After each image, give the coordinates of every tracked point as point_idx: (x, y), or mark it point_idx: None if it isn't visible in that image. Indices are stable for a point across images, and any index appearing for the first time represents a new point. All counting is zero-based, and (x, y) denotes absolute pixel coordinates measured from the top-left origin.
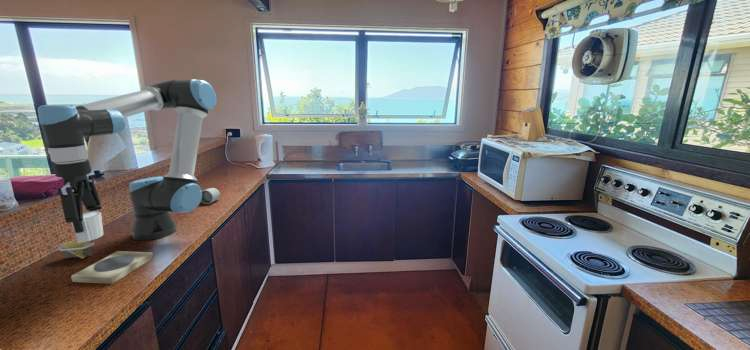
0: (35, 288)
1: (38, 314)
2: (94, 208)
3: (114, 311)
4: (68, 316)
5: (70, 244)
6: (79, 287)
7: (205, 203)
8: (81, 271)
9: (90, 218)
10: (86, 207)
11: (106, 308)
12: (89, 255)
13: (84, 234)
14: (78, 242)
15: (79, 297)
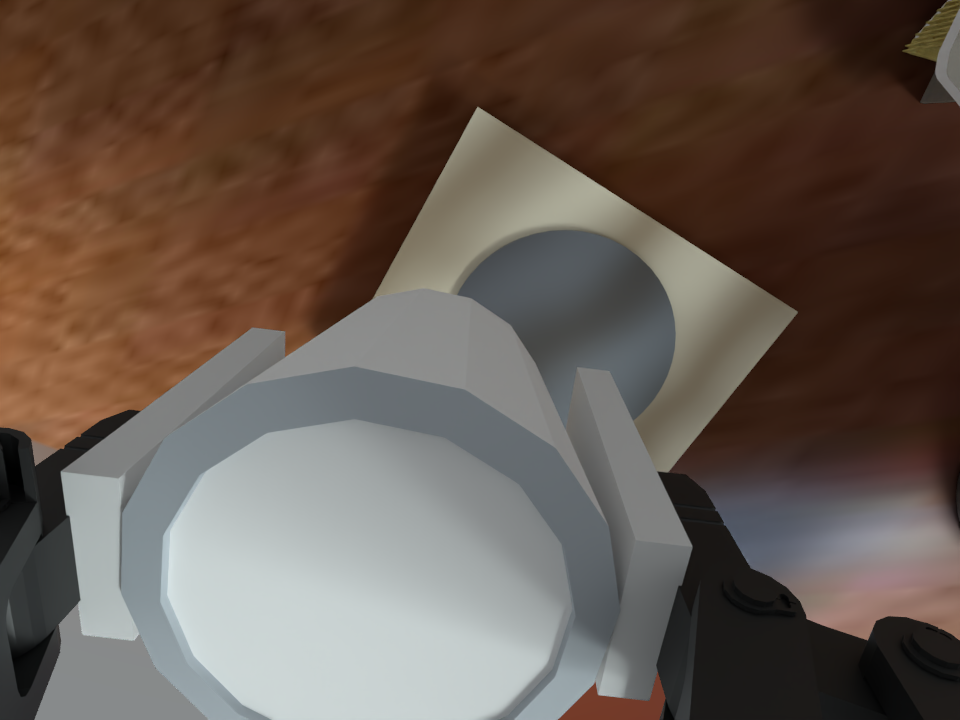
0: None
1: (98, 53)
2: (678, 704)
3: (32, 430)
4: (36, 232)
5: None
6: (371, 181)
7: None
8: (525, 158)
9: (191, 685)
10: (693, 644)
11: (70, 390)
12: (933, 83)
13: None
14: (252, 334)
15: (234, 223)
